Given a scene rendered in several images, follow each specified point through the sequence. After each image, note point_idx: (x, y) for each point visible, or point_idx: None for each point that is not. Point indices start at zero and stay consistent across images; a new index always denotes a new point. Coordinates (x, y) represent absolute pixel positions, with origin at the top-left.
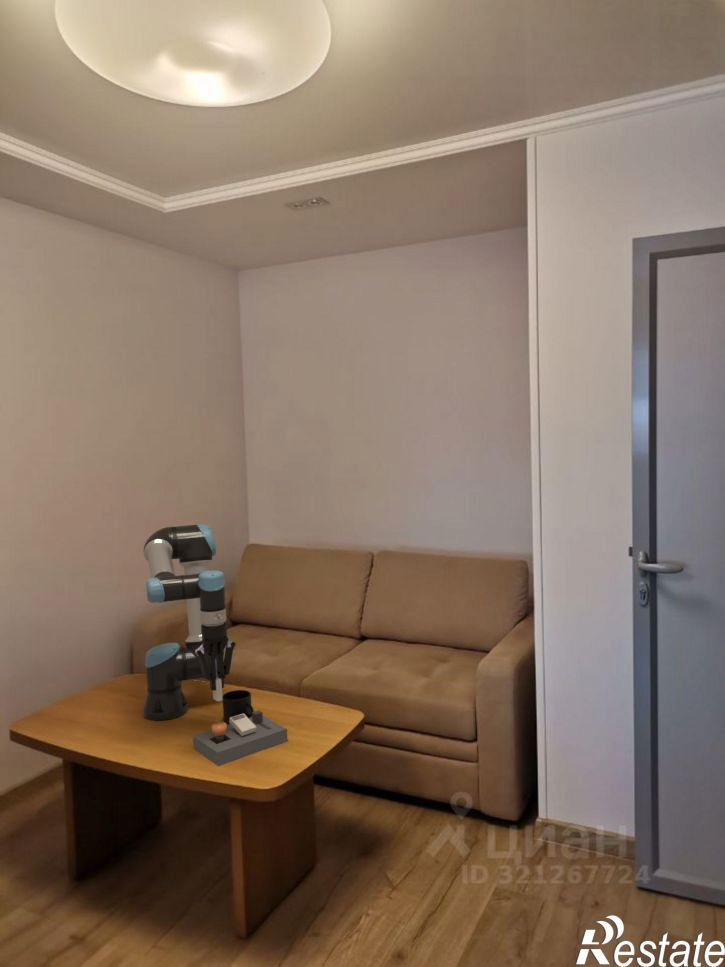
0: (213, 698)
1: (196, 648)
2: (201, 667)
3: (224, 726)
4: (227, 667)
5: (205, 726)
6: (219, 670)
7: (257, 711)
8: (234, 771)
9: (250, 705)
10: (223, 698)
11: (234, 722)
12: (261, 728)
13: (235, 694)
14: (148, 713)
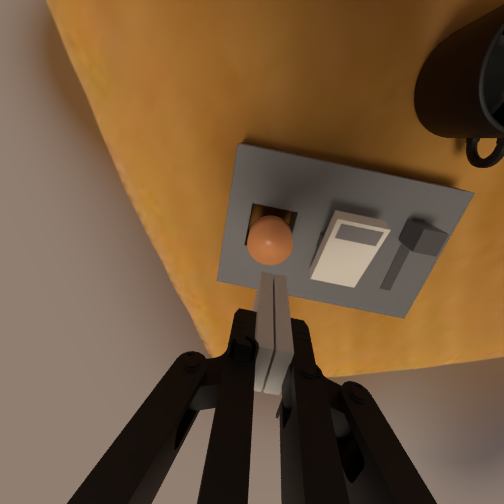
0: (261, 273)
1: None
2: (108, 462)
3: (272, 264)
4: (346, 483)
5: (378, 15)
6: (283, 445)
7: (437, 239)
8: (228, 305)
9: (498, 158)
10: (493, 36)
11: (328, 243)
12: (379, 269)
13: None
14: None
